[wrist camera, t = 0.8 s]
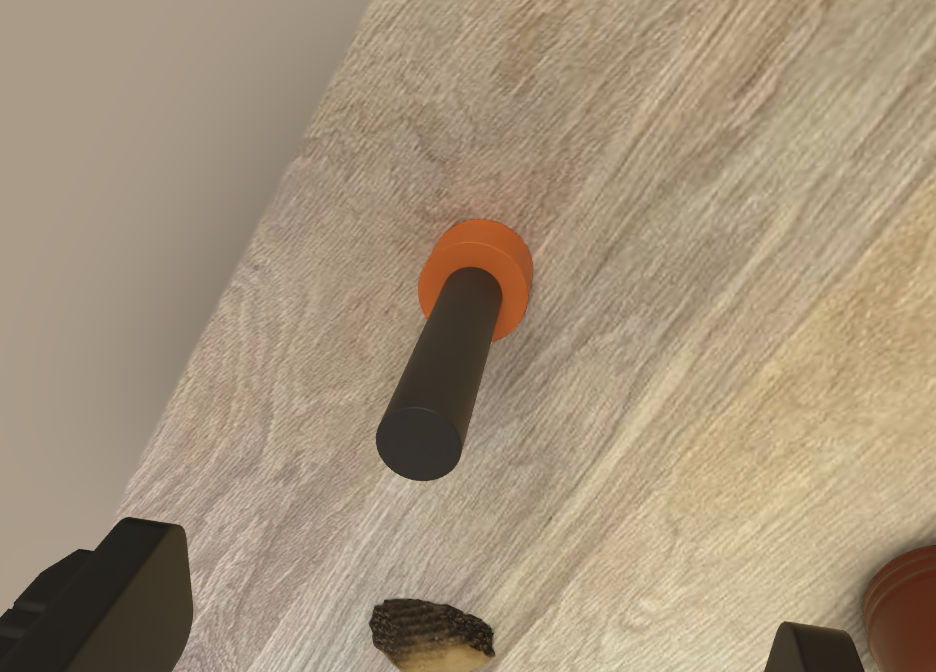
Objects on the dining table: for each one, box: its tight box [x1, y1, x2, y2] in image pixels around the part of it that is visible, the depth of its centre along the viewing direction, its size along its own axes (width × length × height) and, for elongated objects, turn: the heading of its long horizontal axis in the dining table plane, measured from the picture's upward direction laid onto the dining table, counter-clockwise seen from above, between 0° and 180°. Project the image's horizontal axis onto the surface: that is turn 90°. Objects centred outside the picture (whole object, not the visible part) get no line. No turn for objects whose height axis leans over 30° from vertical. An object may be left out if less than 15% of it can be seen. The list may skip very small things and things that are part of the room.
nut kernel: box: [369, 599, 495, 672], centre depth 43 cm, size 6×5×3 cm
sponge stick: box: [376, 219, 533, 481], centre depth 28 cm, size 4×4×14 cm
